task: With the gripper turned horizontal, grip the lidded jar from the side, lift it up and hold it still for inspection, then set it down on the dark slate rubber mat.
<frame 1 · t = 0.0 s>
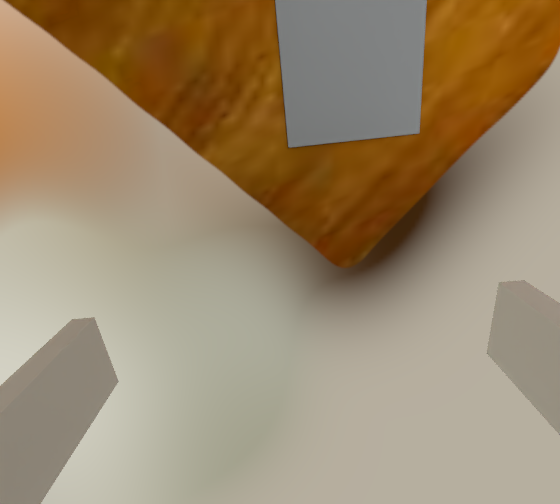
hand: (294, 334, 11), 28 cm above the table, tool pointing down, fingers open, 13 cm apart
slate mat: (350, 67, 32), on the table
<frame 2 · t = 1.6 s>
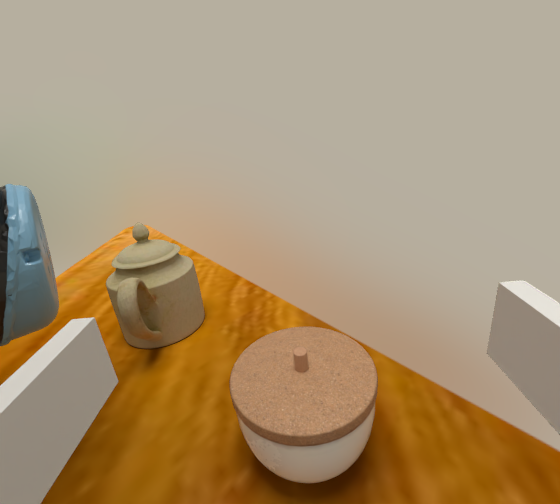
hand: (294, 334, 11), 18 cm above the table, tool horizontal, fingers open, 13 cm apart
lidded jar: (308, 444, 26), on the table
beige teapot: (170, 331, 44), on the table
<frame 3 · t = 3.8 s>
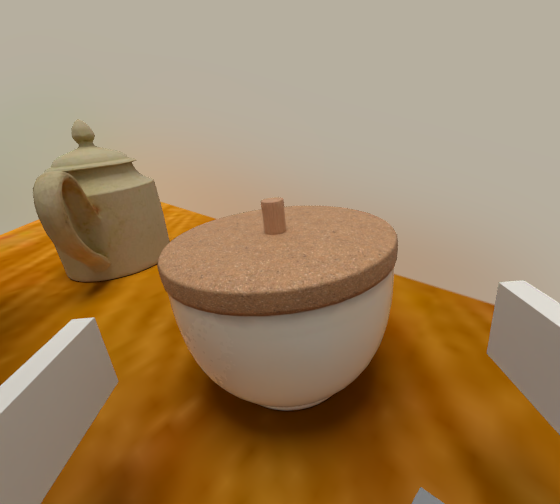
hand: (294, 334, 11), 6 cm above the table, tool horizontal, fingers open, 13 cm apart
lidded jar: (291, 368, 18), on the table
beige teapot: (126, 266, 35), on the table
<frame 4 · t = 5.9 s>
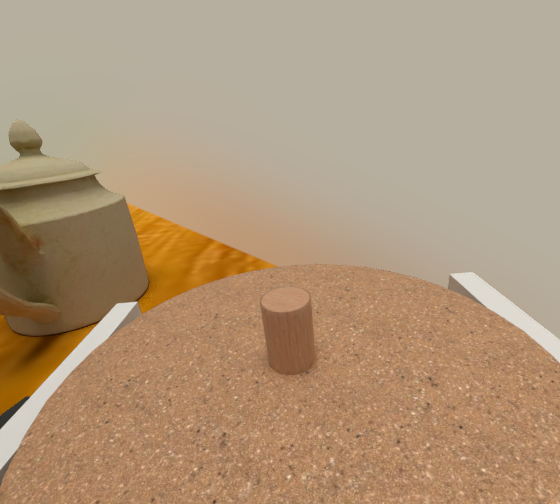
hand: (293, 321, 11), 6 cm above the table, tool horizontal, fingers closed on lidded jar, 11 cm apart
beige teapot: (88, 309, 27), on the table
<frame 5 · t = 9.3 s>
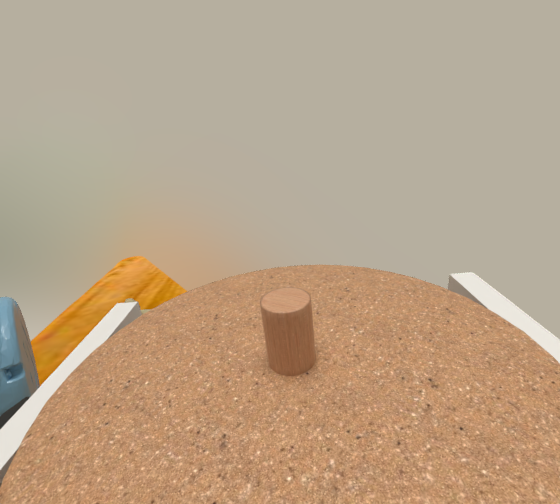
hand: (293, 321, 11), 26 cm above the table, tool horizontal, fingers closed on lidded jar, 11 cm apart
when the fingers open (8 cm above the table, at t = 13.1 s): lidded jar drops 1 cm, resting on slate mat.
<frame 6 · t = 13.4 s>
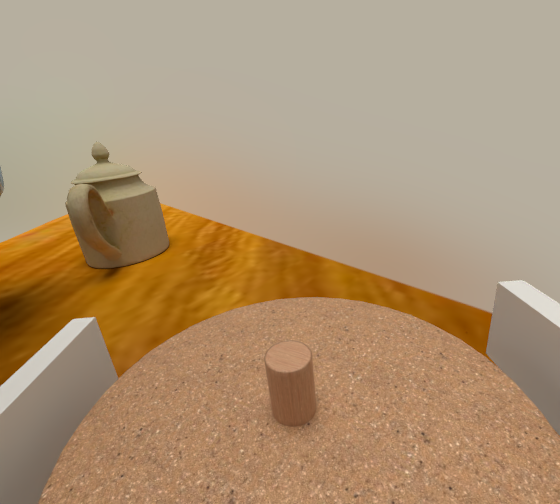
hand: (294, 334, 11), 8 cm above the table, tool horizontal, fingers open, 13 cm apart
beige teapot: (133, 257, 44), on the table
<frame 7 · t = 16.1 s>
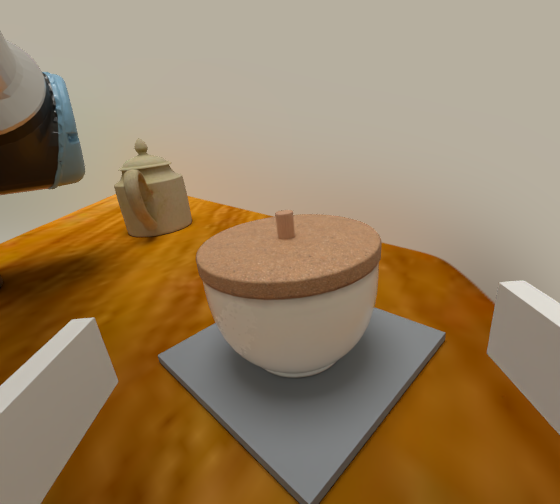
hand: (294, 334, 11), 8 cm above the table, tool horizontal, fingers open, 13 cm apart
lidded jar: (297, 347, 22), resting on slate mat
beige teapot: (164, 230, 55), on the table
slate mat: (299, 351, 22), on the table
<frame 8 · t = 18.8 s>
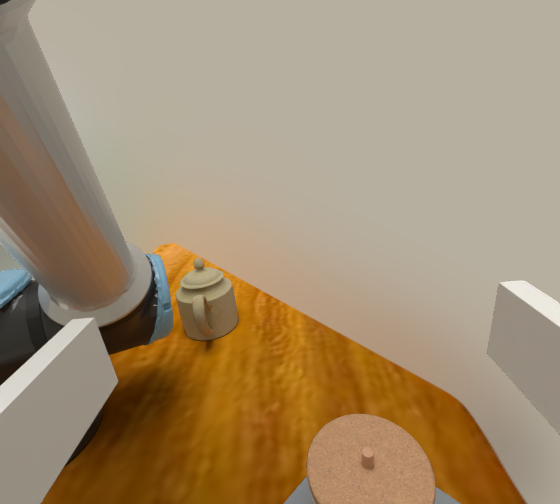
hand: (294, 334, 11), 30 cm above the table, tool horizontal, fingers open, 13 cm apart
beige teapot: (216, 329, 64), on the table
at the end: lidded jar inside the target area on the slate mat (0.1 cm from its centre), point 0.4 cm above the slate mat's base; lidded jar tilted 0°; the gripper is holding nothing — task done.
